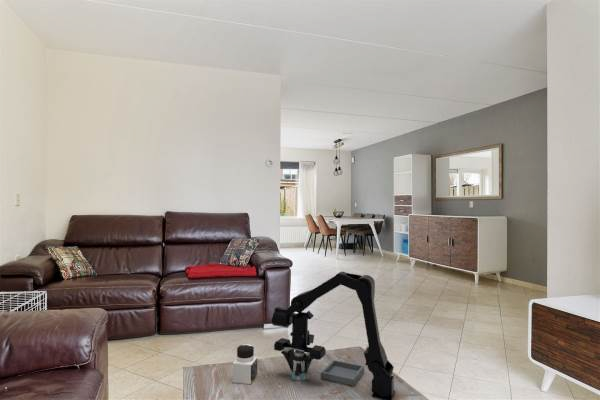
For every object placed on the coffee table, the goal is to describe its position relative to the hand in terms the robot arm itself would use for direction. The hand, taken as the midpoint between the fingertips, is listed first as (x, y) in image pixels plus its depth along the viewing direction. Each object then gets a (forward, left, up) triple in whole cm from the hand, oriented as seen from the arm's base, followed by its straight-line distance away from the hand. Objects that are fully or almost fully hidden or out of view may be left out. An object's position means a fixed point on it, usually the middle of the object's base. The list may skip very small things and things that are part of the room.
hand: (299, 371), depth 135 cm
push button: (0, 0, -3) cm, 3 cm away
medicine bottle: (+18, +9, -3) cm, 20 cm away
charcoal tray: (-13, -10, -3) cm, 17 cm away
